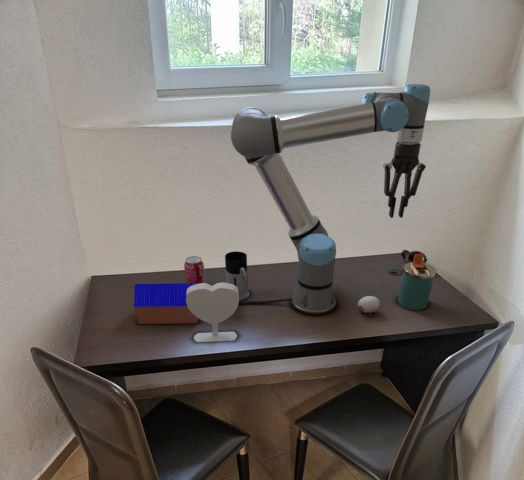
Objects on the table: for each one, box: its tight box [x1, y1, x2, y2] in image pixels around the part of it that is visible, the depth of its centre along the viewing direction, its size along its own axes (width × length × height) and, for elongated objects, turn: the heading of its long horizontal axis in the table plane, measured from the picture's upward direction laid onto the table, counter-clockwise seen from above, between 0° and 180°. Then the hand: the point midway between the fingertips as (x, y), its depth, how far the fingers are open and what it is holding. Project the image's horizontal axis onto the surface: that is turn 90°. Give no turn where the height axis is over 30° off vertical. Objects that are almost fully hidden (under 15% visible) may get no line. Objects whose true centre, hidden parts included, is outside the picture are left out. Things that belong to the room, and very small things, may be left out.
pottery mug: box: [400, 249, 428, 264], centre depth 183 cm, size 12×10×8 cm
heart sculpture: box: [186, 282, 240, 343], centre depth 139 cm, size 16×5×18 cm, turn 94°
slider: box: [413, 254, 425, 268], centre depth 155 cm, size 4×3×3 cm
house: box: [133, 282, 200, 325], centre depth 152 cm, size 12×20×12 cm, turn 92°
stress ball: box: [357, 295, 381, 317], centre depth 156 cm, size 8×8×7 cm
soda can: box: [183, 255, 206, 284], centre depth 166 cm, size 7×7×12 cm
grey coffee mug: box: [224, 250, 250, 301], centre depth 160 cm, size 9×14×15 cm, turn 20°
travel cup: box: [397, 261, 437, 311], centre depth 158 cm, size 11×11×14 cm
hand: (395, 216), depth 157 cm, fingers open, 3 cm apart
